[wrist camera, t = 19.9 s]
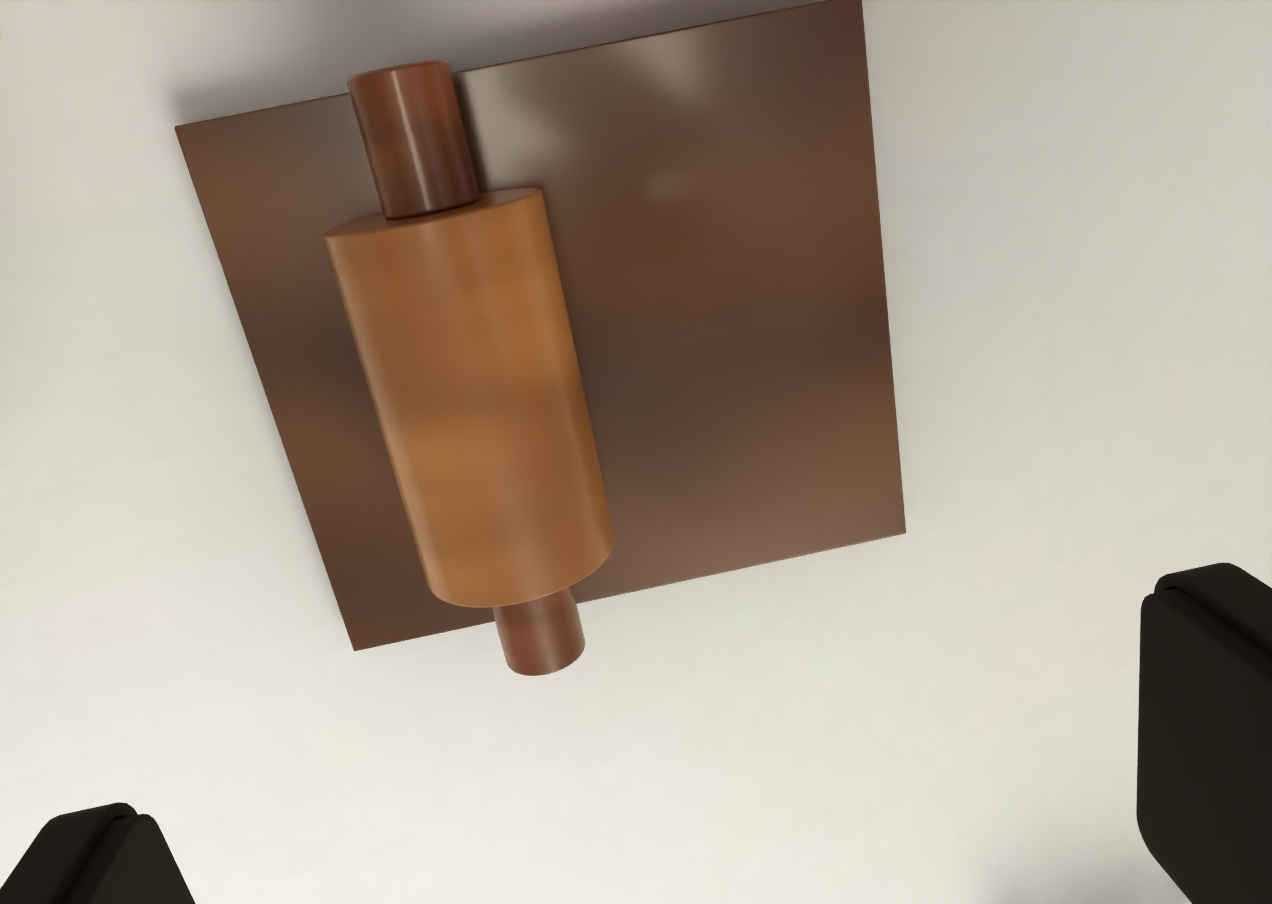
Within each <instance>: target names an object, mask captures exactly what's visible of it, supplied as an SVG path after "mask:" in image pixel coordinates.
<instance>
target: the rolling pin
mask: <svg viewBox="0 0 1272 904" xmlns="http://www.w3.org/2000/svg"><path fill="white" fill-rule="evenodd" d="M347 84H348V88H349V92H350V95H351V99H352V103H353V106H354V110H355V113H356V117H357V121H358V124H359V128H360V132H361V135H362V139H363V142H364V146H365V150H366V153H367V157H368V161H369V164H370V168H371V172H372V175H373V179H374V182H375V186H376V190H377V193H378V197H379V201H380V204H381V208H382V211H383V214H379V215H375V216H371V217H367V218H364V219H360V220H357V221H353V222H350V223H347V224H343V225H340V226H338V227H335V228H332V229H330V230H328V231H326V232H325V233H324V234H323V239H324V242H325V246H326V249H327V252H328V256H329V259H330V262H331V266H332V269H333V272H334V276H335V279H336V282H337V286H338V289H339V292H340V296H341V299H342V302H343V305H344V309H345V312H346V315H347V319H348V322H349V325H350V329H351V332H352V335H353V339H354V342H355V345H356V349H357V352H358V355H359V359H360V362H361V365H362V369H363V372H364V375H365V378H366V382H367V385H368V388H369V392H370V395H371V398H372V402H373V405H374V408H375V412H376V415H377V418H378V422H379V425H380V428H381V432H382V435H383V438H384V442H385V445H386V448H387V451H388V455H389V458H390V461H391V465H392V468H393V471H394V475H395V478H396V481H397V485H398V488H399V491H400V495H401V498H402V501H403V505H404V508H405V511H406V515H407V518H408V521H409V525H410V528H411V531H412V534H413V538H414V541H415V544H416V548H417V551H418V554H419V558H420V561H421V564H422V568H423V571H424V574H425V578H426V581H427V584H428V587H429V589H430V590H431V592H432V593H433V594H434V595H436V596H437V597H438V598H440V599H441V600H443V601H445V602H448V603H451V604H455V605H459V606H466V607H492V611H493V615H494V618H495V622H496V626H497V629H498V633H499V637H500V640H501V644H502V647H503V651H504V655H505V658H506V662H507V665H508V666H509V667H510V668H511V669H512V670H513V671H514V672H516V673H519V674H522V675H528V676H538V675H545V674H549V673H553V672H556V671H559V670H561V669H563V668H565V667H567V666H569V665H570V664H572V663H573V662H574V661H576V660H577V659H578V658H579V656H580V655H581V654H582V652H583V650H584V647H585V639H584V634H583V630H582V626H581V622H580V618H579V613H578V609H577V605H576V601H575V596H574V592H573V588H572V585H573V584H575V583H577V582H578V581H580V580H582V579H583V578H585V577H586V576H588V575H589V574H591V573H592V572H593V571H595V570H596V569H597V568H598V567H599V566H600V565H601V564H602V563H603V562H604V561H605V560H606V559H607V558H608V556H609V555H610V553H611V551H612V549H613V547H614V542H615V534H614V529H613V524H612V520H611V515H610V510H609V505H608V501H607V496H606V491H605V487H604V482H603V477H602V472H601V468H600V463H599V458H598V454H597V449H596V444H595V439H594V435H593V430H592V425H591V421H590V416H589V411H588V406H587V402H586V397H585V392H584V388H583V383H582V378H581V373H580V369H579V364H578V359H577V355H576V350H575V345H574V340H573V336H572V331H571V326H570V322H569V317H568V312H567V307H566V303H565V298H564V293H563V288H562V284H561V279H560V274H559V270H558V265H557V260H556V255H555V251H554V246H553V241H552V237H551V232H550V227H549V222H548V218H547V213H546V208H545V204H544V199H543V194H542V191H541V189H539V188H534V187H528V188H515V189H506V190H499V191H492V192H486V193H480V194H479V190H478V186H477V181H476V177H475V173H474V169H473V164H472V160H471V156H470V152H469V148H468V143H467V139H466V135H465V131H464V126H463V122H462V118H461V114H460V109H459V105H458V101H457V97H456V92H455V88H454V84H453V80H452V76H451V71H450V67H449V64H448V62H447V61H444V60H432V61H423V62H416V63H410V64H404V65H398V66H393V67H388V68H383V69H378V70H374V71H369V72H365V73H361V74H358V75H354V76H352V77H350V78H349V79H348V81H347Z"/></svg>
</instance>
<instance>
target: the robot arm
mask: <svg viewBox="0 0 1272 904" xmlns="http://www.w3.org/2000/svg"><path fill="white" fill-rule="evenodd" d="M1137 822H1138V826H1139V830H1140V833H1141V835H1142V838H1143V840H1144V842H1145V844H1146V846H1147V848H1148V850H1149V851H1150V853H1151V854H1152V855H1153V857H1154V858H1155V859H1156V861H1157V862H1158V863H1159V864H1160V865H1161V867H1162V868H1163V869H1164V870H1165V871H1166V873H1167V874H1168V875H1169V876H1170V877H1171V879H1172V880H1173V881H1174V882H1175V883H1176V885H1177V886H1178V887H1179V888H1180V889H1181V891H1182V892H1183V893H1184V894H1185V895H1186V897H1187V898H1188V899H1189V900H1190V901H1191V903H1192V904H1272V588H1270V587H1269V586H1267V585H1266V584H1264V583H1263V582H1261V581H1260V580H1258V579H1257V578H1255V577H1253V576H1252V575H1250V574H1249V573H1247V572H1246V571H1244V570H1243V569H1241V568H1239V567H1237V566H1235V565H1233V564H1230V563H1217V564H1212V565H1208V566H1203V567H1199V568H1194V569H1189V570H1185V571H1180V572H1176V573H1171V574H1166V575H1165V576H1163V577H1161V578H1159V580H1158V582H1157V584H1156V586H1155V590H1154V594H1150V595H1148V596H1146V597H1145V598H1144V600H1143V602H1142V606H1141V626H1140V673H1139V720H1138V767H1137ZM0 904H195V902H194V900H193V898H192V896H191V893H190V891H189V889H188V887H187V885H186V883H185V881H184V879H183V876H182V874H181V872H180V870H179V868H178V866H177V864H176V862H175V860H174V857H173V855H172V853H171V851H170V849H169V847H168V845H167V843H166V841H165V838H164V836H163V834H162V832H161V830H160V828H159V826H158V824H157V823H156V821H155V819H154V818H152V817H151V816H150V815H148V814H140V815H138V814H137V813H136V811H135V809H134V808H132V807H131V806H130V805H128V804H127V803H114V804H109V805H104V806H100V807H95V808H91V809H86V810H81V811H77V812H72V813H68V814H63V815H59V816H57V817H55V818H53V819H50V820H49V821H48V823H47V824H46V825H45V826H44V827H43V828H42V829H41V831H40V832H39V834H38V835H37V836H36V838H35V839H34V841H33V842H32V844H31V845H30V847H29V848H28V850H27V851H26V853H25V854H24V855H23V857H22V858H21V860H20V861H19V863H18V864H17V866H16V867H15V869H14V870H13V871H12V873H11V874H10V876H9V877H8V879H7V880H6V882H5V883H4V885H3V886H2V887H1V889H0Z"/></svg>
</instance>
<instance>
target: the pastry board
mask: <svg viewBox="0 0 1272 904" xmlns="http://www.w3.org/2000/svg"><path fill="white" fill-rule="evenodd" d="M451 76H452V80H453V84H454V88H455V92H456V97H457V101H458V105H459V109H460V114H461V118H462V122H463V126H464V131H465V135H466V139H467V143H468V148H469V152H470V156H471V160H472V164H473V169H474V173H475V177H476V181H477V186H478V190H479V194H480V193H486V192H492V191H499V190H506V189H515V188H528V187H534V188H539V189H541V191H542V194H543V199H544V204H545V208H546V213H547V218H548V222H549V227H550V232H551V237H552V241H553V246H554V251H555V255H556V260H557V265H558V270H559V274H560V279H561V284H562V288H563V293H564V298H565V303H566V307H567V312H568V317H569V322H570V326H571V331H572V336H573V340H574V345H575V350H576V355H577V359H578V364H579V369H580V373H581V378H582V383H583V388H584V392H585V397H586V402H587V406H588V411H589V416H590V421H591V425H592V430H593V435H594V439H595V444H596V449H597V454H598V458H599V463H600V468H601V472H602V477H603V482H604V487H605V491H606V496H607V501H608V505H609V510H610V515H611V520H612V524H613V529H614V534H615V542H614V547H613V549H612V551H611V553H610V555H609V556H608V558H607V559H606V560H605V561H604V562H603V563H602V564H601V565H600V566H599V567H598V568H597V569H596V570H595V571H593V572H592V573H591V574H589V575H588V576H586V577H585V578H583V579H582V580H580V581H578V582H577V583H575V584H573V585H572V588H573V592H574V596H575V601H576V604H578V603H582V602H587V601H592V600H597V599H601V598H606V597H611V596H615V595H620V594H625V593H629V592H634V591H639V590H643V589H648V588H653V587H657V586H662V585H667V584H671V583H676V582H681V581H685V580H690V579H695V578H699V577H704V576H709V575H713V574H718V573H723V572H728V571H732V570H737V569H742V568H746V567H751V566H756V565H760V564H765V563H770V562H774V561H779V560H784V559H788V558H793V557H798V556H802V555H807V554H812V553H816V552H821V551H826V550H830V549H835V548H840V547H844V546H849V545H854V544H859V543H863V542H868V541H873V540H877V539H882V538H887V537H891V536H896V535H901V534H905V533H906V527H905V515H904V503H903V491H902V479H901V467H900V455H899V443H898V431H897V419H896V407H895V395H894V383H893V371H892V358H891V346H890V334H889V322H888V310H887V298H886V286H885V274H884V262H883V250H882V238H881V226H880V214H879V202H878V189H877V177H876V165H875V153H874V141H873V129H872V117H871V105H870V93H869V81H868V69H867V57H866V45H865V33H864V20H863V8H862V0H828V1H823V2H817V3H812V4H807V5H802V6H797V7H791V8H786V9H781V10H776V11H771V12H765V13H760V14H755V15H750V16H745V17H739V18H734V19H729V20H724V21H719V22H714V23H708V24H703V25H698V26H693V27H688V28H682V29H677V30H672V31H667V32H662V33H656V34H651V35H646V36H641V37H636V38H630V39H625V40H620V41H615V42H610V43H605V44H599V45H594V46H589V47H584V48H579V49H573V50H568V51H563V52H558V53H553V54H547V55H542V56H537V57H532V58H527V59H521V60H516V61H511V62H506V63H501V64H495V65H490V66H485V67H480V68H475V69H470V70H464V71H459V72H454V73H451ZM175 132H176V135H177V137H178V140H179V143H180V146H181V149H182V152H183V155H184V158H185V161H186V164H187V167H188V169H189V172H190V175H191V178H192V181H193V184H194V187H195V190H196V193H197V196H198V199H199V201H200V204H201V207H202V210H203V213H204V216H205V219H206V222H207V225H208V228H209V231H210V233H211V236H212V239H213V242H214V245H215V248H216V251H217V254H218V257H219V260H220V263H221V266H222V268H223V271H224V274H225V277H226V280H227V283H228V286H229V289H230V292H231V295H232V298H233V300H234V303H235V306H236V309H237V312H238V315H239V318H240V321H241V324H242V327H243V330H244V332H245V335H246V338H247V341H248V344H249V347H250V350H251V353H252V356H253V359H254V362H255V364H256V367H257V370H258V373H259V376H260V379H261V382H262V385H263V388H264V391H265V394H266V396H267V399H268V402H269V405H270V408H271V411H272V414H273V417H274V420H275V423H276V426H277V428H278V431H279V434H280V437H281V440H282V443H283V446H284V449H285V452H286V455H287V458H288V460H289V463H290V466H291V469H292V472H293V475H294V478H295V481H296V484H297V487H298V490H299V492H300V495H301V498H302V501H303V504H304V507H305V510H306V513H307V516H308V519H309V522H310V524H311V527H312V530H313V533H314V536H315V539H316V542H317V545H318V548H319V551H320V554H321V556H322V559H323V562H324V565H325V568H326V571H327V574H328V577H329V580H330V583H331V586H332V588H333V591H334V594H335V597H336V600H337V603H338V606H339V609H340V612H341V615H342V618H343V620H344V623H345V626H346V629H347V632H348V635H349V638H350V641H351V644H352V647H353V650H354V651H358V650H363V649H367V648H372V647H377V646H381V645H386V644H391V643H395V642H400V641H405V640H409V639H414V638H419V637H423V636H428V635H433V634H437V633H442V632H447V631H451V630H456V629H461V628H466V627H470V626H475V625H480V624H484V623H489V622H494V621H495V618H494V615H493V611H492V607H466V606H459V605H455V604H451V603H448V602H445V601H443V600H441V599H440V598H438V597H437V596H436V595H434V594H433V593H432V592H431V590H430V589H429V587H428V584H427V581H426V578H425V574H424V571H423V568H422V564H421V561H420V558H419V554H418V551H417V548H416V544H415V541H414V538H413V534H412V531H411V528H410V525H409V521H408V518H407V515H406V511H405V508H404V505H403V501H402V498H401V495H400V491H399V488H398V485H397V481H396V478H395V475H394V471H393V468H392V465H391V461H390V458H389V455H388V451H387V448H386V445H385V442H384V438H383V435H382V432H381V428H380V425H379V422H378V418H377V415H376V412H375V408H374V405H373V402H372V398H371V395H370V392H369V388H368V385H367V382H366V378H365V375H364V372H363V369H362V365H361V362H360V359H359V355H358V352H357V349H356V345H355V342H354V339H353V335H352V332H351V329H350V325H349V322H348V319H347V315H346V312H345V309H344V305H343V302H342V299H341V296H340V292H339V289H338V286H337V282H336V279H335V276H334V272H333V269H332V266H331V262H330V259H329V256H328V252H327V249H326V246H325V242H324V239H323V234H324V233H325V232H326V231H328V230H330V229H332V228H335V227H338V226H340V225H343V224H347V223H350V222H353V221H357V220H360V219H364V218H367V217H371V216H375V215H379V214H383V211H382V208H381V204H380V201H379V197H378V193H377V190H376V186H375V182H374V179H373V175H372V172H371V168H370V164H369V161H368V157H367V153H366V150H365V146H364V142H363V139H362V135H361V132H360V128H359V124H358V121H357V117H356V113H355V110H354V106H353V103H352V99H351V95H350V93H345V94H340V95H335V96H329V97H324V98H319V99H314V100H309V101H303V102H298V103H293V104H288V105H283V106H277V107H272V108H267V109H262V110H257V111H252V112H246V113H241V114H236V115H231V116H226V117H220V118H215V119H210V120H205V121H200V122H194V123H189V124H184V125H179V126H175Z"/></svg>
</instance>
